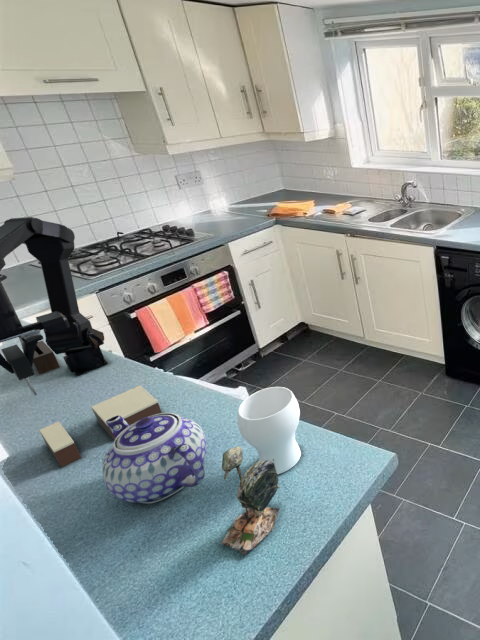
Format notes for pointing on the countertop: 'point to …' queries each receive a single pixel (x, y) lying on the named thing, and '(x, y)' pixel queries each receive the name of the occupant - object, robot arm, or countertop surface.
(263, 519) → the bird figurine
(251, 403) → the cup
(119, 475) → the teapot
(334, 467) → the countertop surface
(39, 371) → the knife block
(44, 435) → the cream-topped brown block
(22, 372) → the black handle
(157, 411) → the cake loaf
